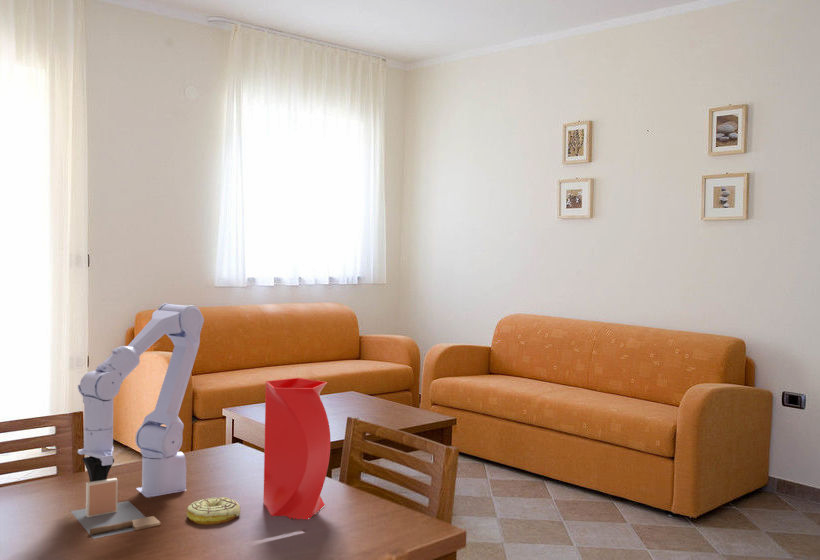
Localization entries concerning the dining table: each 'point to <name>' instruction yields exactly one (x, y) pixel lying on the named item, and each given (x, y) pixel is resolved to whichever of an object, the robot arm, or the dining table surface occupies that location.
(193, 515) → the decorated donut
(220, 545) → the dining table surface
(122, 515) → the mat
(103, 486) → the tile
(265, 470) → the vase
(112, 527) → the turner
